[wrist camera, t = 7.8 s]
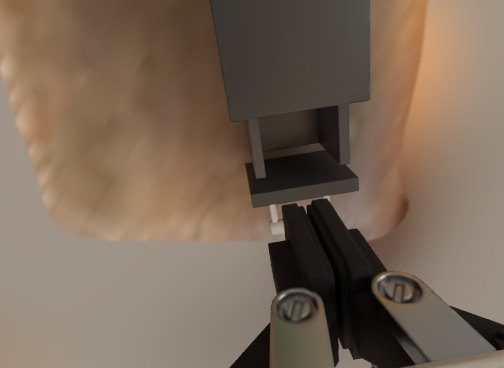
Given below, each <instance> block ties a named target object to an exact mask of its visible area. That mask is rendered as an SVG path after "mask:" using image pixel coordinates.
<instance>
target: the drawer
mask: <svg viewBox="0 0 504 368" xmlns="http://www.w3.org/2000/svg"><path fill="white" fill-rule="evenodd" d="M245 125H246V131H247V138H248V144H249V151H250V155H251V159H252V162H250V163H245V165H246V171H247V177H248V182H249V188H250V194H251V199H252V205H253V208H256V207H262V206H268V205H269V208H270V215H271V221H269V225H270V231H271V235H272V236H274V235H280V234H285V231H284V223H283V219H280V220H278V216H277V209H276V204H281V203H287V202H293V201H299V200H305V199H311V198H317V197H322V199H324V198H327V199H328V200H329V202H330V195H336V194H342V193H348V192H354V191H358V190H359V186H358V177H357V176H356V175H355V174H354V173H353V172H352V171H351V170H350V169H349V168H348V167H347V166H346V165H345V164H350V151H349V112H348V104H343V105H336V106H330V107H324V108H318V109H311V110H305V111H299V112H292V113H286V114H280V115H274V116H267V117H261V118H255V119H249V120H245ZM314 143H320V144H321V145H322V147H323V148H324V149H325V150H324V151H318V152H311V153H305V154H299V155H293V156H287V157H280V158H274V159H268V160H264V158H263V152H264V151H270V150H277V149H283V148H289V147H295V146H301V145H308V144H314Z"/></svg>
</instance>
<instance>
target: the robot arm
mask: <svg viewBox="0 0 504 368" xmlns="http://www.w3.org/2000/svg"><path fill="white" fill-rule="evenodd" d="M282 215H283V223H284V231H285V239H286V240H285V241H280V242H274V243H268V246H269V254H270V261H271V267H272V273H273V278H274V283H275V287H276V293H277V296H275V298H274V299H273V301H272V305H271V320H270V323H269V324H268V325H267V326H266V327H265V329H264V330H263V331H262V332H261V333H260V334H259V335H258V336H257V338H256V339H255V340H254V341H253V342H252V343H251V344H250V345H249V346H248V348H247V349H246V350H245V351H244V352H243V353H242V354H241V356H240V357H239V358H238V359H237V360H236V361H235V362H234V363H233V364H232V365H231V367H230V368H335V367H336V365H337V363H338V362H339V355H338V350H339V344H338V338H339V340H340V343H341V345H342V348H343V349H348V348H349V350H350V353H351V355H352V357H353V360H354V359H360V358H363V359H364V360H366V361H368V362H370V363H371V368H504V325H503V324H500V323H497V322H494V321H491V320H489V319H486V318H482V317H480V316H477V315H474V314H472V313H469V312H466V311H463V310H460V309H457V308H455V307H452V306H449V305H448V304H447V303H446V302H444V301H443V300H442V299H441V298H440V297H439V296H438V295H437V294H436V293H435V292H434V291H433V290H431V289H430V288H429V287H428V286H427V285H426V284H425V283H424V282H423V281H421V280H420V279H419V278H417V277H416V276H414V275H411V274H409V273H406V272H401V271H387V270H386V268H385V267H384V265H383V264H382V263H381V261H380V260H379V259H378V257H377V255H376V254H375V253H374V251H373V250H372V248H371V247H370V246H369V244H368V243H367V241H366V240H365V238H364V237H363V236H362V234H361V233H360V231H359V230H358V229H350V230H348V229H347V228H346V226H345V225H344V223H343V222H342V220H341V219H340V217H339V216H338V214H337V213H336V211H335V209H334V208H333V206H332V205H331V203H330V202H329V200H328V199H327V198H324V199H318V200H312V202H311V205H307V214H306V211H305V209H304V207H303V206H300V207H298V205H297V203H295V204H289V205H283V206H282Z"/></svg>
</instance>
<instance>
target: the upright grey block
mask: <svg viewBox="0 0 504 368" xmlns="http://www.w3.org/2000/svg"><path fill="white" fill-rule="evenodd" d="M210 3H211V9H212V15H213V21H214V27H215V32H216V38H217V44H218V50H219V56H220V62H221V68H222V74H223V80H224V85H225V91H226V97H227V103H228V109H229V115H230V121H231V122H236V121H242V120H249V119H255V118H261V117H267V116H274V115H280V114H286V113H292V112H299V111H305V110H311V109H318V108H324V107H330V106H336V105H343V104H349V103H355V102H361V101H368V100H370V0H210Z"/></svg>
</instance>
